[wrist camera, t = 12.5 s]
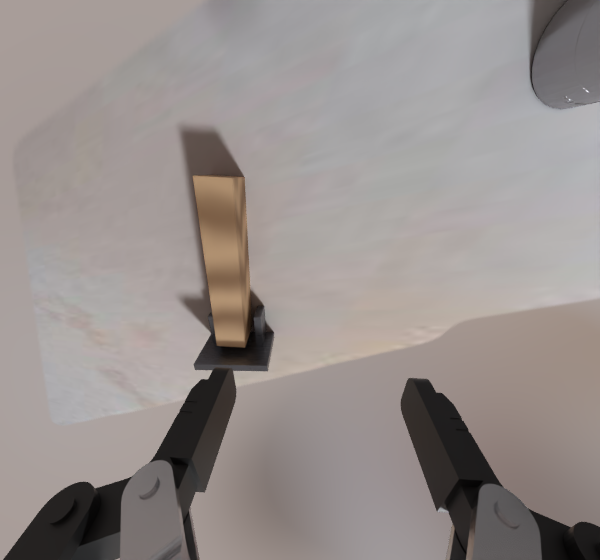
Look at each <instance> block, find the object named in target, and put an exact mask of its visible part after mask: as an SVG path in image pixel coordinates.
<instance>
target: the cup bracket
mask: <svg viewBox="0 0 600 560" xmlns="http://www.w3.org/2000/svg"><path fill="white" fill-rule="evenodd" d="M208 319H209V324H210V329H211V335H210V337H209V339H208V341H207V342H206V344H205V346H204V347H203V349H202V351H201V353H200V354H199V356H198V358H197V360H196V361H195V363H194V367H195V370H213V369H214V368H216V367H218V368H232V370H233V371H268V367H269V362H270V357H271V351H272V346H273V341H274V332H266V323H265V310H264V306H258V307H257V309H256V312H255V315H254V326H255V332H250V335H249V337H248V340H247V343H246V346H245V348H244V347H226V346H217V343H216V336H215V329H214V322H213V315H212V311H211V313H210V314H209V316H208Z"/></svg>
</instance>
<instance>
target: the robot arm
mask: <svg viewBox="0 0 600 560" xmlns="http://www.w3.org/2000/svg"><path fill="white" fill-rule="evenodd" d="M532 82H533V86H534V90H535V92H536V94H537V96H538V98H539V99H540V100H541V101H542V102H543V103H544V104H545V105H548V106H550V107H552V108H558V109H566V108H573V107H577V106H581V105H586V104H592V103H596V102H600V0H567V1H566V3H565V4H564V5H563V6H562V7H561V8H560V9H559V10H558V12H557V13H556V14H555V16H554V17H553V18H552V20H551V21H550V23H549V24H548V26H547V27H546V29H545V31H544V33H543V35H542V37H541V39H540V41H539V44H538V47H537V50H536V52H535V56H534V61H533V66H532ZM235 399H236V386H235V380H234V374H233V370H232V368H218V367H216V368H214V369H213V371H212V373H211V375H210V377H209V379H208V380H205V379H201V380H200V381H199V382H198V383H197V384H196V385H195V386H194V387H193V388H192V389H191V391H190V393H189V395H188V397H187V398H186V400H185V403H184V404H183V406H182V407H181V409H180V412H179V414H178V415H177V417H176V418H175V420H174V422H173V424H172V426H171V428H170V429H169V431H168V433H167V435H166V437H165V438H164V440H163V442H162V444H161V446H160V447H159V449H158V451H157V453H156V454H155V456H154V457H153V459H152V460H151V461H150V462H149V463H148V464H146V465H145V466H144V467H142V468H141V469H139V470H138V471H137V472H136V473H135V474H134V475H133V476H132V477H130V478H128V479H125V480H122V481H119V482H115V483H112V484H109V485H105V486H102V487H99V488H94V487H93V486H92V485H91V484H90V483H88V482H78V483H75V484H72V485H70V486H68V487H67V488H65V489H63V490H61V491H60V492H59V493H57V494H56V495H55V496H54V497H53V498H51V499H50V500H49V501H48V502H47V503H46V504H45V505H44V507H43V508H42V509H41V510H40V511H39V513H38V514H37V515H36V517H35V518H34V519H33V521H32V522H31V523H30V525H29V526H28V527H27V529H26V530H25V532H24V533H23V534H22V535H21V537H20V538H19V539H18V541H17V542H16V544H15V545H14V546H13V547H12V549H11V550H10V551H9V553H8V554H7V555H6V557H5V558H4V559H3V560H115V559H118V558H120V560H199V554H198V548H197V542H196V537H195V531H194V525H193V520H192V515H191V509H190V506H191V503H192V500H193V497H194V495H195V492H205V490H206V487H207V484H208V481H209V478H210V475H211V472H212V469H213V466H214V463H215V460H216V457H217V454H218V451H219V448H220V445H221V442H222V439H223V437H224V434H225V430H226V427H227V424H228V421H229V418H230V416H231V413H232V409H233V407H234V403H235ZM401 411H402V415H403V418H404V420H405V423H406V426H407V429H408V431H409V434H410V437H411V440H412V443H413V445H414V448H415V451H416V454H417V457H418V460H419V462H420V465H421V468H422V471H423V474H424V476H425V479H426V482H427V485H428V488H429V490H430V493H431V496H432V499H433V502H434V504H435V507H436V510H437V512H447V513H449V515H450V517H451V520H452V523H453V524H452V527H451V532H450V538H449V545H448V550H447V555H446V560H600V527H598V526H596V525H594V524H591V523H587V522H579V523H577V524H575V525H574V526H573V527H569V526H566V525H564V524H562V523H559V522H557V521H555V520H552V519H550V518H548V517H545V516H543V515H540V514H538V513H536V512H534V511H532V510H530V509H528V508H527V507H526V506H525V505H524V504H523V503H522V502H521V500H520V499H518V498H517V497H516V496H515V495H514V494H513V493H511V492H510V491H508V490H507V489H505V488H504V487H503V486H502V485H501V484H500V482H499V481H498V479H497V478H496V476H495V474H494V473H493V471H492V469H491V467H490V466H489V464H488V462H487V461H486V459H485V457H484V456H483V454H482V452H481V450H480V449H479V447H478V445H477V443H476V442H475V440H474V438H473V437H472V435H471V433H469V431H468V428H467V426H466V425H465V423H464V421H462V418H461V416H460V415H459V413H458V411H457V410H456V408H455V406H454V405H453V404H452V403H451V402H450V401H449V400H448V399H447V398H446V397H445V396H444V395H443V394H442V393H436V392H435V390H434V388H433V386H432V384H431V383H430V381H429V380H428V379H417V378H409V379H408V380H407V383H406V386H405V389H404V392H403V395H402V399H401Z"/></svg>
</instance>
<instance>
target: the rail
mask: <svg viewBox="0 0 600 560" xmlns="http://www.w3.org/2000/svg"><path fill="white" fill-rule="evenodd" d="M193 182H194V189H195V196H196V203H197V210H198V217H199V224H200V231H201V238H202V245H203V252H204V259H205V266H206V273H207V280H208V287H209V294H210V301H211V308H212V315H213V322H214V329H215V336H216V343H217V346H226V347H244V348H245V346H246V343H247V340H248V337H249V335H250V332H251V329H252V314H251V294H250V275H249V255H248V236H247V217H246V197H245V178H244V177H235V176H218V175H198V176H193Z"/></svg>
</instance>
